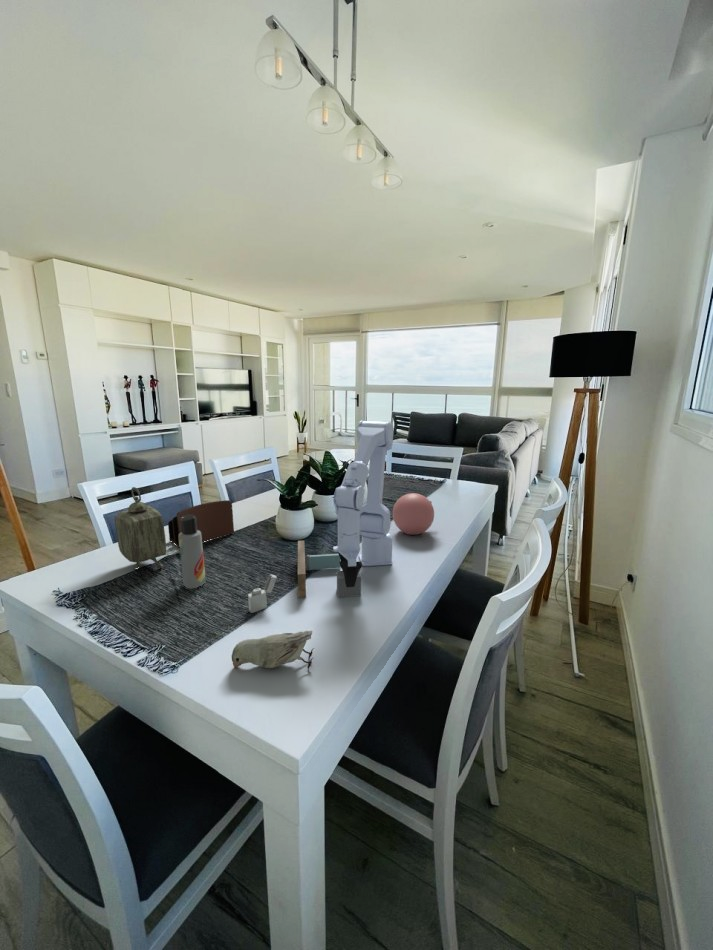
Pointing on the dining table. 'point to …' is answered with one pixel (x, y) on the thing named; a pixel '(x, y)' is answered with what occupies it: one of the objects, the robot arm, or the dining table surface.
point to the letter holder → (205, 520)
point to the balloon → (413, 513)
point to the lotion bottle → (191, 553)
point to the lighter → (261, 595)
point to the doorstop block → (348, 591)
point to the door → (322, 561)
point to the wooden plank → (301, 570)
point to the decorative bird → (272, 650)
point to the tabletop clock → (140, 532)
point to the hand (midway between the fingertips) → (348, 579)
